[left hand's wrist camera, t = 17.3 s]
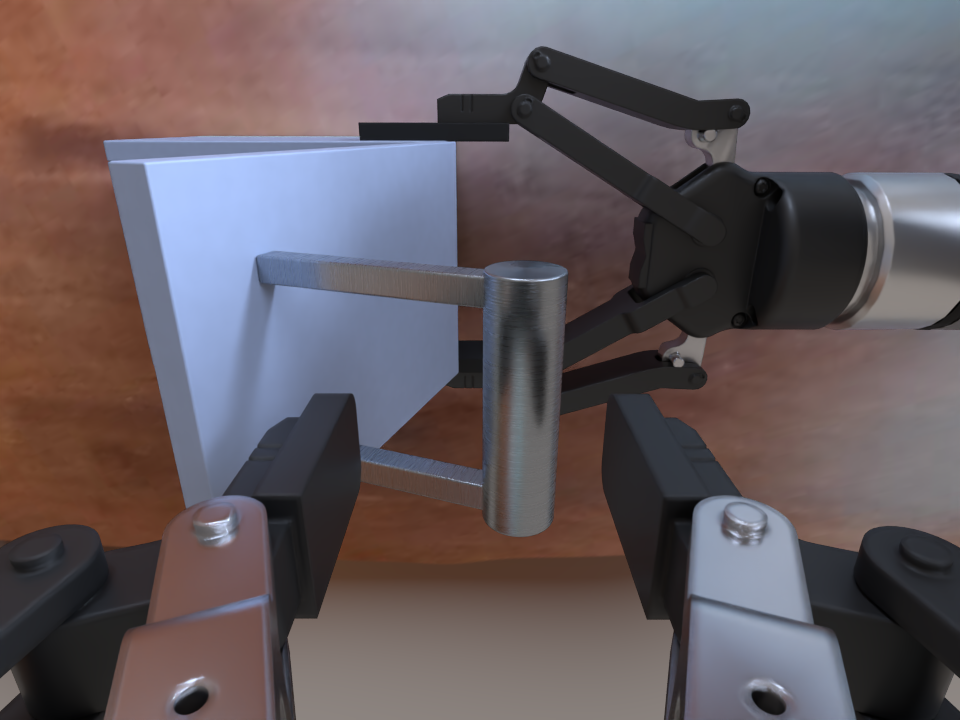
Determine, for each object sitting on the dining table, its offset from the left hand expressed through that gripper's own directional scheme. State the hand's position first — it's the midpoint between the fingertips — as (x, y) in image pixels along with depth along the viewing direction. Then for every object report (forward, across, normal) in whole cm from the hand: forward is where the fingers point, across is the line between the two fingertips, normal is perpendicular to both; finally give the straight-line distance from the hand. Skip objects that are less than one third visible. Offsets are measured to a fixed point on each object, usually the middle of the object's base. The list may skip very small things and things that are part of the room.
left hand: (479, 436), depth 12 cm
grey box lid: (+9, +5, 0) cm, 10 cm away
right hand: (+18, +5, 0) cm, 19 cm away
